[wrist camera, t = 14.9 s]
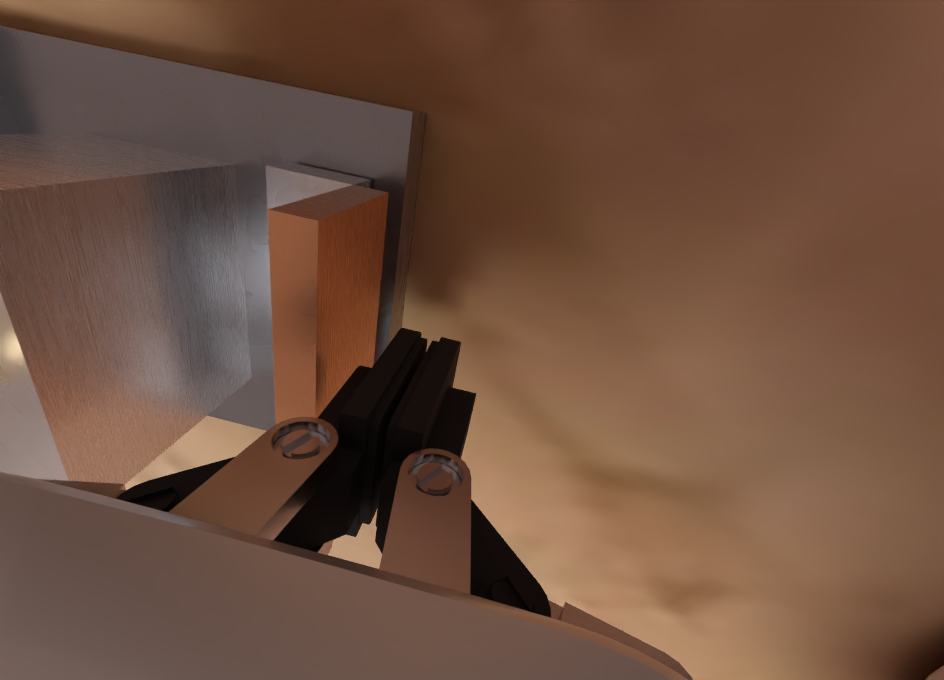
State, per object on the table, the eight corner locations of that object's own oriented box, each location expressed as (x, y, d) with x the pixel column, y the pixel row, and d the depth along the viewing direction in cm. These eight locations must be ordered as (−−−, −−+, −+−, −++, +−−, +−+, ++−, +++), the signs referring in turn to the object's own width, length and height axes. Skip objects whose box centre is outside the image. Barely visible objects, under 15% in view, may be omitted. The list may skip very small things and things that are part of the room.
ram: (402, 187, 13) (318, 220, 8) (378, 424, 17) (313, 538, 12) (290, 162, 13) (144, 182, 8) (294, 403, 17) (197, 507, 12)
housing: (234, 163, 13) (-168, 208, 6) (251, 377, 17) (18, 574, 10) (87, 133, 14) (-473, 139, 6) (135, 349, 17) (-181, 518, 10)
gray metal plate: (426, 113, 13) (396, 109, 11) (388, 436, 19) (362, 485, 17) (-28, 19, 14) (-160, -7, 12) (71, 355, 20) (-2, 390, 18)
